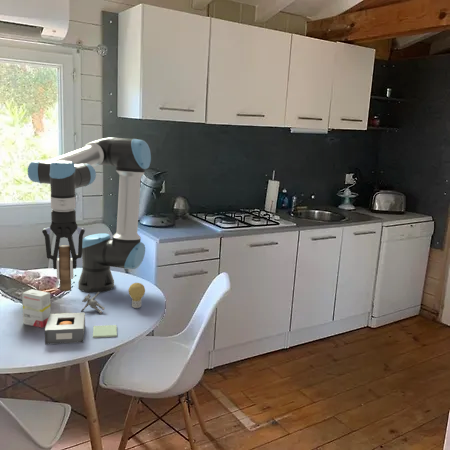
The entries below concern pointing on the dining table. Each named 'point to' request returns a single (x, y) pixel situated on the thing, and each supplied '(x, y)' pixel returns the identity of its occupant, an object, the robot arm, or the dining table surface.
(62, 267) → the walnut dowel
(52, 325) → the grey square holder
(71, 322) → the button
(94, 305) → the elephant figurine
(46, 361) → the dining table surface
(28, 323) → the ink box
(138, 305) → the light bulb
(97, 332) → the mat
